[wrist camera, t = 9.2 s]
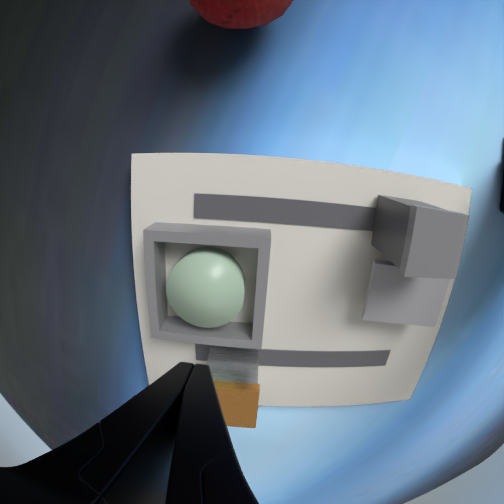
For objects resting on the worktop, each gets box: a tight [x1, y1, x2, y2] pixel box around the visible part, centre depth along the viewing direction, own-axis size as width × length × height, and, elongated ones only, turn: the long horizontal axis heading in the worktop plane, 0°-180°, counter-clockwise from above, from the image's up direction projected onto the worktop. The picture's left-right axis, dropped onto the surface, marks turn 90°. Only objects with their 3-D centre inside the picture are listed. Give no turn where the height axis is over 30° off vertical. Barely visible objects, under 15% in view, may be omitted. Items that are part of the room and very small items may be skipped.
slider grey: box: [371, 195, 469, 279], centre depth 14 cm, size 3×3×5 cm
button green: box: [166, 247, 246, 328], centre depth 17 cm, size 4×4×2 cm
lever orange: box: [206, 345, 260, 428], centre depth 17 cm, size 3×3×5 cm
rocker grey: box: [362, 259, 450, 327], centre depth 16 cm, size 5×4×1 cm
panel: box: [131, 153, 472, 407], centre depth 18 cm, size 22×18×4 cm
